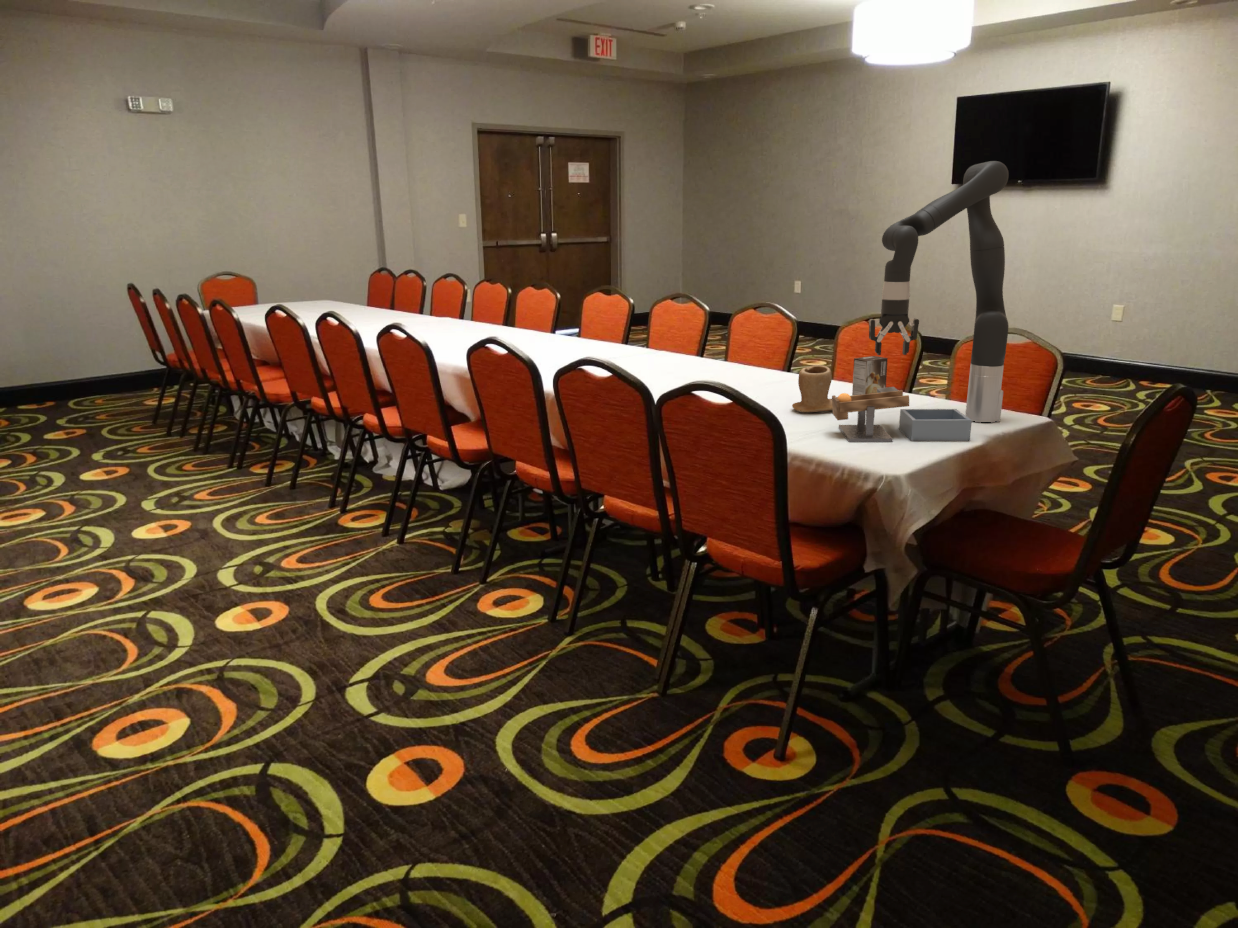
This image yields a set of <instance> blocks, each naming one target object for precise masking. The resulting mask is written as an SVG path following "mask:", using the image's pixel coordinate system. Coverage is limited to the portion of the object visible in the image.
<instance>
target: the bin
mask: <svg viewBox="0 0 1238 928" xmlns="http://www.w3.org/2000/svg"><path fill="white" fill-rule="evenodd" d="M965 415H966V414H965V413H964V414H963V413H962V412H961V411H960V410H959V409H957V408H900V411H899V421H898V429H899V430H900V432H902V434H903V435H905V436H906V437H907V439H909V440H910V442H969V441H968V440H970V441H971V431H972V422H973V421H972V420H971V419H969V418H968V417H967V416H965Z"/></svg>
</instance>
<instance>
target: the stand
mask: <svg viewBox="0 0 1238 928" xmlns="http://www.w3.org/2000/svg"><path fill="white" fill-rule="evenodd" d="M875 412H876V411H875V407H874V406H867V409H866V411H858V412H857V421H856V423H857V424H838V429H839V431H840V432H841V433H842V435H843V436H844V437H845V439H846V440H847V441H848V442H849V443H893V437H892V436H891V435H890V434H889V433H888V432H887V431H886V429H884V428H883V427H882V426H881V424H875Z"/></svg>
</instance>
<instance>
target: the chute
mask: <svg viewBox="0 0 1238 928" xmlns="http://www.w3.org/2000/svg"><path fill="white" fill-rule="evenodd" d="M850 397H851V401H848V402H840V401H839V400H838V399H837V398H838V396H836V395H834V394H833V395H832V396H831V399H832V406H833V410H832V415H833V416H834V418H835V419H836V420H837V421H844V420H849V413H856V412H857V413H858V411H866V409H867V406H874V407H875V410H876V411H877V410H884V409H895V408H896V409H897V408H903V407H905V408H906V407H910V395H908V394H907V395H904V391H903V390H902V389H901V390H899V389H897V388H896V387H895V386H886V388H877V393H872V394H862V395H853V396H852V395H850Z"/></svg>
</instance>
